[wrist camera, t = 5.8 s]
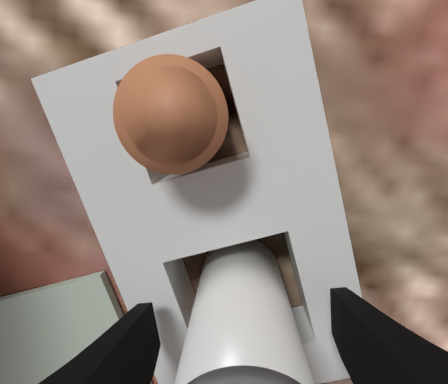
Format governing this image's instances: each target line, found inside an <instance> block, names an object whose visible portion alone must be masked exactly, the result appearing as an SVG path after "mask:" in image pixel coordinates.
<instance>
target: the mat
mask: <svg viewBox="0 0 448 384" xmlns="http://www.w3.org/2000/svg"><path fill="white" fill-rule="evenodd" d="M122 316H124V315H123V313H122V310H121V308H120V306H119V303H118V301H117V299H116V296H115V294H114V292H113V289H112V287H111V285H110V282H109V280H108V277H107V275H106V273H105V271H101V272H97V273H93V274H89V275H85V276H81V277H77V278H73V279H70V280H66V281H62V282H58V283H54V284H50V285H46V286H42V287H38V288H34V289H30V290H26V291H22V292H19V293H15V294H11V295H7V296H3V297H0V384H38V383H40V382H41V381H43V380H44V379H45V378H47V377H48V376H50V375H51V374H52V373H54V372H55V371H57V370H58V369H60V368H61V367H62V366H64V365H65V364H66V363H68V362H69V361H70V360H72V359H73V358H74V357H75V356H77V355H78V354H79V353H80V352H81V351H83V350H84V349H85V348H86V347H88V346H89V345H90V344H91V343H93V342H94V341H95V340H96V339H97V338H99V337H100V336H101V335H102V334H103V333H104V332H105V331H107V330H108V329H109V328H110V327H111V326H112V325H113V324H115V323H116V322H117V321H118V320H119V319H120V318H121V317H122ZM150 384H152V381H151V383H150Z"/></svg>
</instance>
